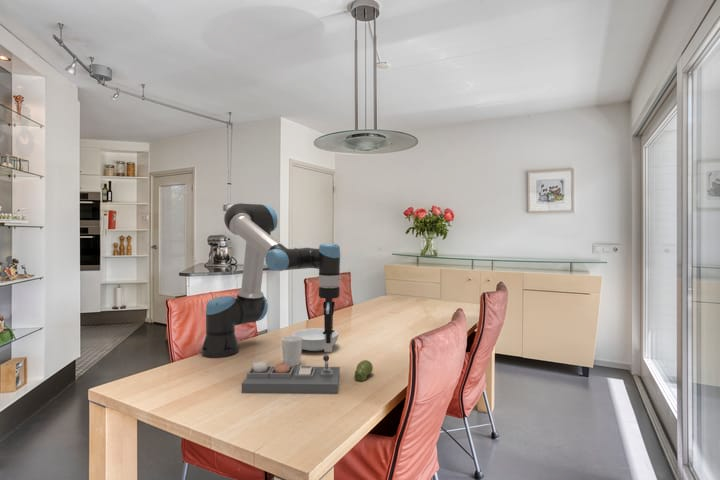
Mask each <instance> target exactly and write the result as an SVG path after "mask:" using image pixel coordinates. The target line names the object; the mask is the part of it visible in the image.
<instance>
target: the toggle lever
mask: <svg viewBox="0 0 720 480" xmlns="http://www.w3.org/2000/svg"><path fill="white" fill-rule="evenodd" d="M322 360H323V361H324V366H323V367H324V368H323V372H331V367H332V366H329V361H330V356H329V355H328V354H325V355H324V356H322Z"/></svg>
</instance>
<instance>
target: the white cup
mask: <svg viewBox="0 0 720 480" xmlns="http://www.w3.org/2000/svg"><path fill="white" fill-rule="evenodd" d="M281 346H282V347H281V349H282V358H283V360H282V361H283V363H282V364H289V366H294V367H297V366H298V365H299V366H300V364H302V363H301V362H302V361H301V358H302V351H303V349H302V337H300V336H292V335H286V336H283V337H282V338H281Z"/></svg>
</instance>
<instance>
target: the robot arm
mask: <svg viewBox="0 0 720 480" xmlns="http://www.w3.org/2000/svg"><path fill="white" fill-rule="evenodd" d="M223 221H224V225H225V226H226V228H227V229H228V230H229V231H230V232H231V233H232V234H233V235H236V236H239V237H240V238H241V239H243V240H244V241H245V250H244V259H243V267H242V278H241V279H242V281H241V288H240V290H238V291H237V294H236V298H235V296H233V295H225V296H223V295H222V296H218V297H215V298H212V299H210V300H208V301H207V303H206V305H205V332H206V333H205V338H204V341H203V344H202V347H201V355H202V356H203V357H204V358H226V357H230V356H234V355H235V354H237V353H239V351H240V345H239V342H238V339H237V335H236V333H235V332H236V331H235V330H236V326H240V325H245V324H250V323H256V322H259V321H262V320H263V319H264V318H265V317H266V315H267V313H268V311H269V310H268V309H269V304H268V300H267V298H266V297H265V294H264V292H262V285H263V284H262V283H263V274H264V267H265V265H267V268H268V269H269V270H270V271H273V272H274V271H277V272H283V271H290V270H301V269H302V270H304V269H317V270H318V286H319V287H318V297H319V298H320V299H325V301H323V303H322V306H323V307H322V308H323V315H324V317H323V318H324V320H323V321H324V326H323V327H324V330H325V331H324V332H323V334H325V350H324V352H325V353H326V352H329V353H331V352H333V346H332V332H334V326H333V325H334V324H333V321H334V312H335V306H336V305H335V303H336V302H335V301H334V299H338V298H340V293H341V292H340V289H341V288H340V287H339V286H340V283H341V282H340V281H341V280H342V277H340V274H341V272H340V270H341V267H340V266H341V247H340V245H339V244H337V243H321V244H319V247H318V248H313V247H301V248H288V247H286V246H285V245H283V244H282V243H280V241H278V240H277V239H275V238H274V236H272V235H271V233H272V232H273V231H275V230H276V228H277V227H278V223H279V222H278V221H279V220H278V214H277V212H276V210H275V209H274V208H273V207H272V206H270V205H267V204H261V203H260V204H259V203H258V204H257V203H243V202H240V203H235V204H233V205H231V206H230V207H228V208H227V210H226V211H225V214H224V217H223ZM264 264H265V265H264Z"/></svg>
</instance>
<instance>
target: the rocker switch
mask: <svg viewBox="0 0 720 480" xmlns="http://www.w3.org/2000/svg"><path fill="white" fill-rule="evenodd" d="M299 367H300V370H299V373H298V375H311V370H312V367H313V366H312V365H299Z"/></svg>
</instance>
